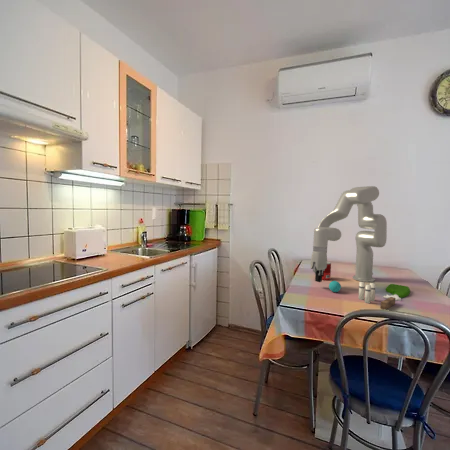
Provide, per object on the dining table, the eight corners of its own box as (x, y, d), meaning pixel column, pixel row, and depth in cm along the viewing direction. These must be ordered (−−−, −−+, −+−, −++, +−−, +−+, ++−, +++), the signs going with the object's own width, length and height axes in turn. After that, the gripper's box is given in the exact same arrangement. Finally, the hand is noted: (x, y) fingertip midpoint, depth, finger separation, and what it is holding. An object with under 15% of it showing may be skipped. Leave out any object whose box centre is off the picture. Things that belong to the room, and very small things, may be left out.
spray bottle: (411, 292, 144) (405, 304, 126) (388, 287, 152) (379, 299, 133) (411, 286, 144) (406, 298, 126) (388, 282, 151) (380, 293, 133)
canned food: (331, 278, 169) (331, 261, 168) (329, 281, 162) (329, 263, 161) (318, 276, 173) (319, 260, 172) (316, 279, 166) (317, 262, 165)
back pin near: (365, 301, 127) (366, 284, 126) (371, 302, 125) (372, 285, 124) (363, 302, 125) (364, 284, 125) (369, 303, 123) (369, 286, 123)
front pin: (359, 297, 132) (360, 281, 131) (364, 299, 130) (365, 282, 129) (357, 298, 130) (358, 282, 129) (362, 300, 128) (363, 283, 128)
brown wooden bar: (390, 302, 125) (390, 296, 125) (395, 304, 123) (395, 297, 123) (380, 308, 117) (380, 302, 117) (385, 309, 116) (385, 303, 116)
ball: (332, 289, 145) (332, 278, 145) (342, 292, 140) (343, 281, 140) (326, 291, 141) (326, 280, 141) (337, 294, 136) (337, 283, 136)
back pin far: (370, 299, 130) (371, 282, 130) (375, 300, 128) (376, 283, 128) (368, 300, 128) (368, 283, 128) (373, 301, 126) (374, 284, 126)
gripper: (321, 247, 154) (319, 278, 155) (306, 249, 145) (305, 281, 146) (333, 249, 148) (331, 281, 149) (318, 251, 139) (317, 285, 140)
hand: (318, 281), depth 148 cm, fingers closed
